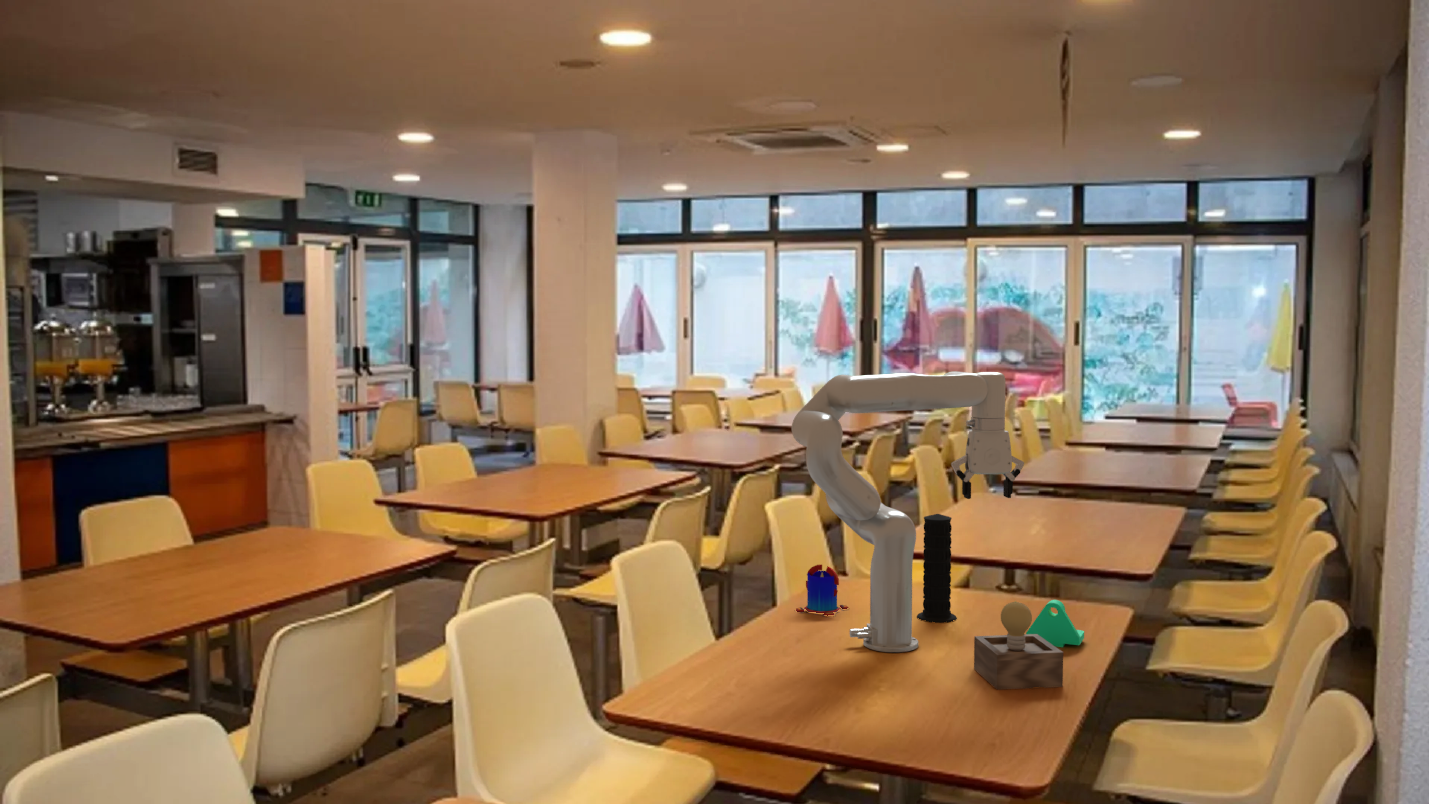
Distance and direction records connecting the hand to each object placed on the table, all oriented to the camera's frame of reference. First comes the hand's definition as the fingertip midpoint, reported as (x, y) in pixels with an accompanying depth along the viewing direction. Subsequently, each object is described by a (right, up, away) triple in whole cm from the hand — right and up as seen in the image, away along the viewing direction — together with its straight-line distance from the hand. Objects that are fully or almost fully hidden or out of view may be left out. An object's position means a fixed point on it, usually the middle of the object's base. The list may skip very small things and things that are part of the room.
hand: (987, 497), depth 280 cm
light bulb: (-1, -30, -29) cm, 42 cm away
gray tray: (0, -36, -29) cm, 46 cm away
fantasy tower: (-36, -32, +29) cm, 56 cm away
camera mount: (+15, -34, -2) cm, 37 cm away
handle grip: (-8, -32, +21) cm, 39 cm away
